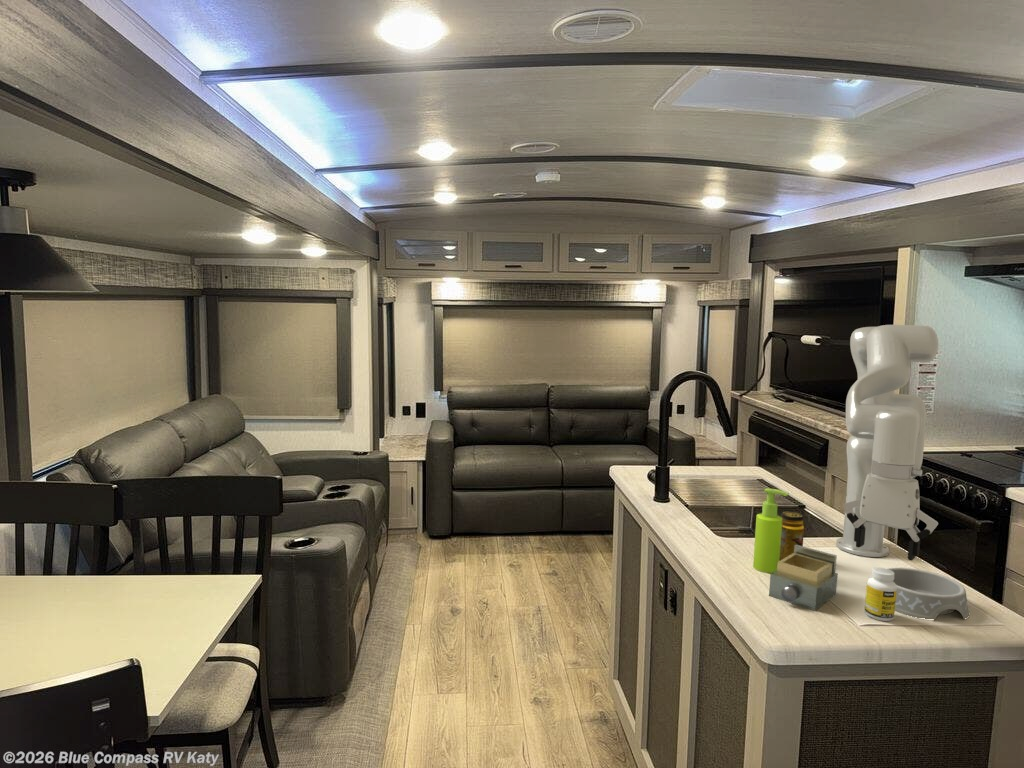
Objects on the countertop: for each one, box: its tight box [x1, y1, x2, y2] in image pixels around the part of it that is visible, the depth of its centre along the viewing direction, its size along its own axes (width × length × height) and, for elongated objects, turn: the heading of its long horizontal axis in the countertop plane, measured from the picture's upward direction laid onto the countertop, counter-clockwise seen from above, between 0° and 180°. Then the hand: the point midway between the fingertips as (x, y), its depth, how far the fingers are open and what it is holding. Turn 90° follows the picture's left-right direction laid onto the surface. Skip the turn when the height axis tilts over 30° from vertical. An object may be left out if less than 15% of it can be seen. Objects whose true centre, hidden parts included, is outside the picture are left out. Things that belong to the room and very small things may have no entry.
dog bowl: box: [887, 567, 970, 621], centre depth 143 cm, size 17×18×5 cm
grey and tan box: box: [768, 545, 838, 612], centre depth 144 cm, size 14×10×9 cm
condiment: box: [779, 511, 805, 561], centre depth 167 cm, size 7×8×12 cm
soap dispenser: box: [752, 487, 790, 574], centre depth 159 cm, size 6×7×20 cm
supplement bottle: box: [864, 567, 897, 622], centre depth 136 cm, size 5×5×10 cm
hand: (885, 552), depth 134 cm, fingers open, 9 cm apart
